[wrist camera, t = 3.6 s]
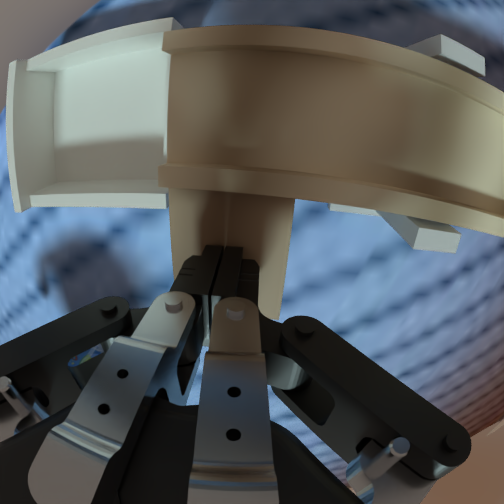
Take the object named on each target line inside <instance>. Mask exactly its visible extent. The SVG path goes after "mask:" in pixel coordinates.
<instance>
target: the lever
mask: <svg viewBox="0 0 504 504" xmlns="http://www.w3.org/2000/svg"><path fill="white" fill-rule="evenodd" d="M162 51H164V52H166V53H168V54H171V60H170V73H169V89H168V112H167V163H165V164H162V165H160V166H158V187H165V188H168V191H169V216H170V234H171V249H172V262H173V273H174V281H175V279H176V277H177V275H178V273H179V271H180V269H181V267H182V265H183V263H184V261H185V260H186V259H188V258H189V257H191V256H192V255H199V256H201V255H202V252H203V250H204V248H205V245H219V246H224V250H225V247H226V246H234V247H243V259H252V260H255V261H256V262H257V263H258V265H259V266H260V271H259V295H258V308H259V310H260V312H261V313H262V314H263V315H264V316H265V317H267V318H269V319H275V320H279V315H280V308H281V302H282V295H283V288H284V281H285V274H286V267H287V260H288V252H289V245H290V237H291V229H292V221H293V212H294V204H295V199H302V200H310V201H318V202H325V203H332V204H339V205H346V206H353V207H359V208H365V209H371V210H377V211H383V212H389V213H395V214H400V215H406V216H411V217H416V218H421V219H426V220H431V221H436V222H441V223H445V224H450V225H455V226H459V227H463V228H468V229H472V230H476V231H480V232H484V233H488V234H492V235H496V236H500V237H504V92H502V91H501V90H499V89H497V88H495V87H494V86H492V85H490V84H488V83H486V82H484V81H483V80H481V79H479V78H477V77H475V76H473V75H471V74H469V73H467V72H465V71H462V70H460V69H458V68H456V67H454V66H451V65H449V64H447V63H444V62H442V61H439V60H437V59H434V58H432V57H429V56H426V55H423V54H421V53H418V52H415V51H412V50H409V49H406V48H403V47H399V46H396V45H392V44H389V43H385V42H382V41H378V40H374V39H369V38H365V37H361V36H356V35H351V34H346V33H340V32H334V31H328V30H321V29H313V28H304V27H293V26H279V25H221V26H207V27H196V28H187V29H179V30H172V31H166V32H164V34H163V43H162Z"/></svg>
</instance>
